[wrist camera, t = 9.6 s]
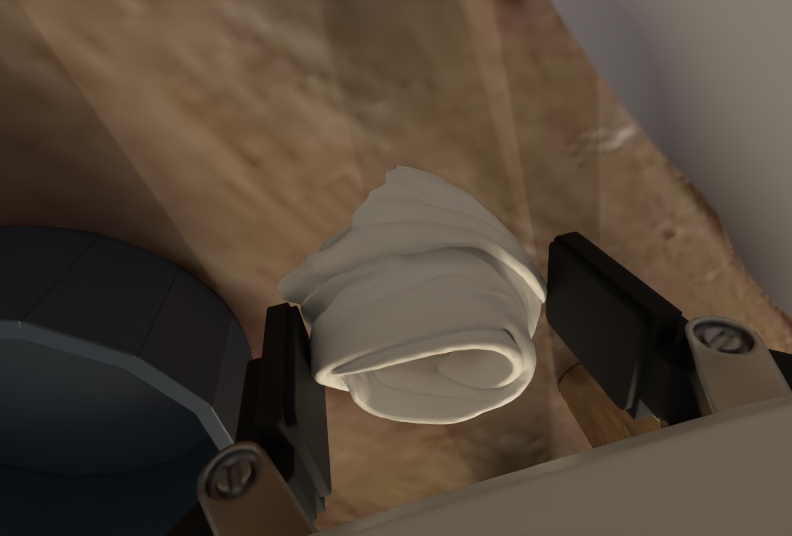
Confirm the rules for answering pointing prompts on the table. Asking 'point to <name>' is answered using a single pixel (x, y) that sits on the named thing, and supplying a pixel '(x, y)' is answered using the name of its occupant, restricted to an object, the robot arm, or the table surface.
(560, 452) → the table surface
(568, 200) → the table surface
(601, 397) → the milkshake
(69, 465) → the pot
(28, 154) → the table surface
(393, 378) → the whipped cream
